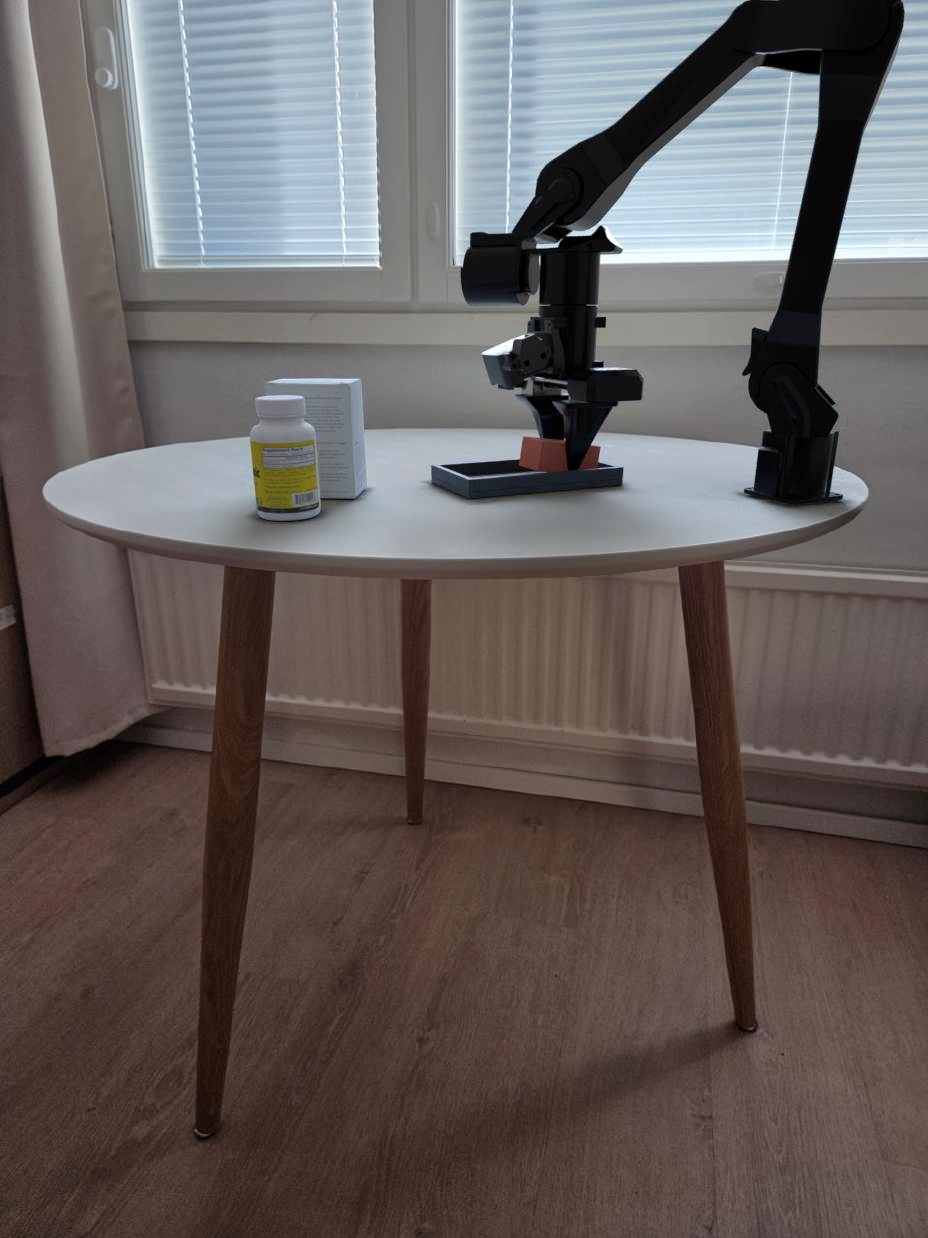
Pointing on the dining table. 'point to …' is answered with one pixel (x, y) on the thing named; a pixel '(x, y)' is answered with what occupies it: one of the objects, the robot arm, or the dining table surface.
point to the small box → (332, 430)
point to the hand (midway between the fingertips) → (561, 466)
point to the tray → (518, 478)
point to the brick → (552, 455)
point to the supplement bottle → (284, 460)
